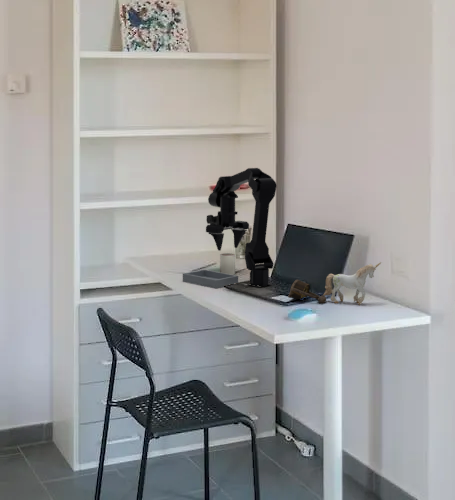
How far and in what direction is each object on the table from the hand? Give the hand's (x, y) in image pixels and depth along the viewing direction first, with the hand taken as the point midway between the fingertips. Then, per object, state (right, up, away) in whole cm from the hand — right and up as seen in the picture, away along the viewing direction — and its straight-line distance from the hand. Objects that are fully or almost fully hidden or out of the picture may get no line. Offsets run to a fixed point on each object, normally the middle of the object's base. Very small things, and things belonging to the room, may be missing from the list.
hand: (227, 249), depth 343 cm
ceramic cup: (0, -10, +2) cm, 10 cm away
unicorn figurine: (+42, -18, -42) cm, 62 cm away
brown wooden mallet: (+27, -18, -43) cm, 53 cm away
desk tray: (-6, -12, -13) cm, 19 cm away
